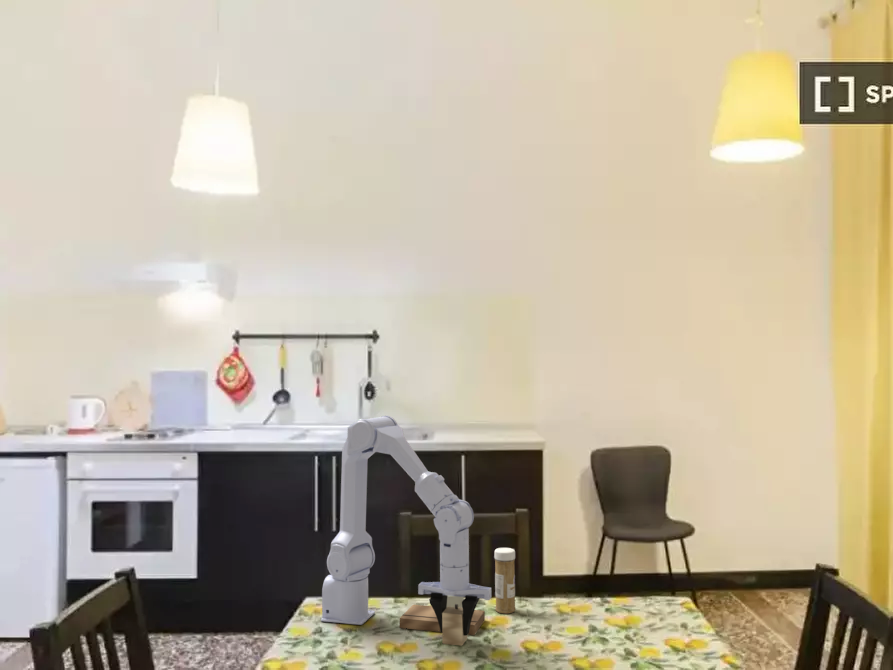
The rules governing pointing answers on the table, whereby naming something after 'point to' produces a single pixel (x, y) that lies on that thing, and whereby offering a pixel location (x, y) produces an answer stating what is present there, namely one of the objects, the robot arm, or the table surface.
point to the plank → (434, 619)
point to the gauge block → (453, 626)
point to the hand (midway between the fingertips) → (454, 632)
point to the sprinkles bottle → (504, 580)
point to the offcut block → (454, 601)
